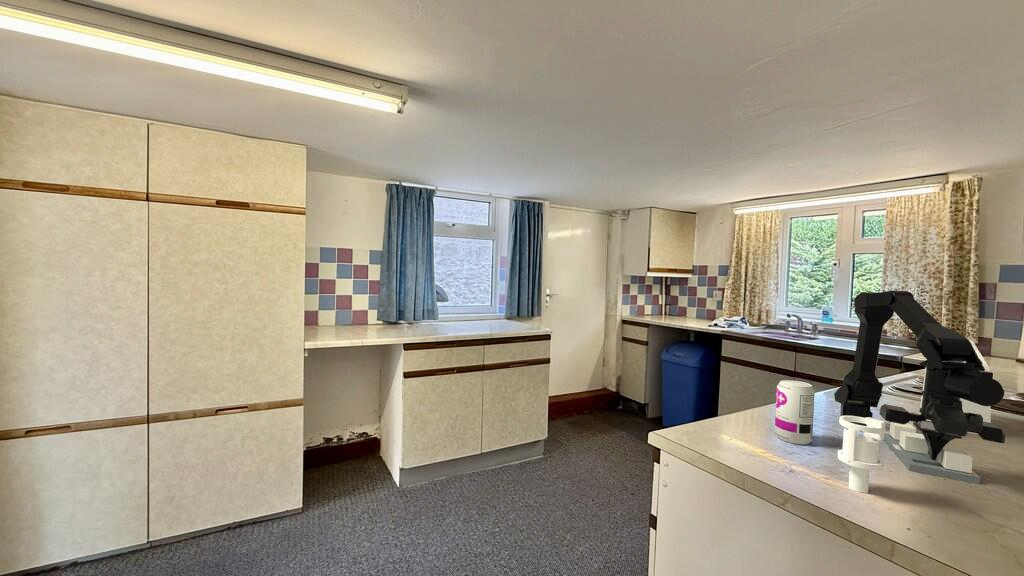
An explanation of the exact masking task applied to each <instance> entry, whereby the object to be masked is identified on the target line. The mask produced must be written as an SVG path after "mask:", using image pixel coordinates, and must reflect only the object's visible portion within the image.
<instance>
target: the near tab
mask: <svg viewBox="0 0 1024 576" xmlns="http://www.w3.org/2000/svg"><path fill="white" fill-rule="evenodd" d="M938 462H939V463H940V464H941V465H942V466H943V467H944V468H946V469H951V470H957V471H962V472H968V473H972V471H973V469H972V468H973V455H970V454H969V453H968V452H966V451H965V450H964V449H958V448H952V447H946V446H944V448H943V449H942V450H941V452H940V453H939V454H938Z"/></svg>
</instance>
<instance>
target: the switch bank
mask: <svg viewBox="0 0 1024 576" xmlns="http://www.w3.org/2000/svg"><path fill="white" fill-rule="evenodd" d="M882 441H883V442H884V444H885V445H888V446H887V447H888V449H890V451H891V452H892V453H893V452H894V453H893V454H894V455H895V456H896V457H897V458H898V460H899V461H900V462H901V463H902V465H904V467H905V468H906V469H907V470H908V471H910V472H915V473H920V474H924V475H925V474H926V475H930V476H936V477H940V478H945V479H946V478H947V479H951V480H955V481H961V482H967V483H971V484H972V483H973V484H976V485H980V483H981V482H980V481H981V480H980V479H981V476H979V475H978V474H977V473H976V472H975V471H973V470H972V473H968V472H962V471H957V470H951V469H946V468H944V467H943V466H942V465H941V464H940V463H939V462H938V456H937V458H936V460H932V459H931V458H930V451H929V449H928V454H923V453H917V452H912V451H906V450H904V449H903V448H902V447H901V446H900V445H899V444H900V440H896V439H894V438H893V437H892V436H891V435H890V433H886V432H885V433H884V440H882Z"/></svg>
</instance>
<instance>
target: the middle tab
mask: <svg viewBox="0 0 1024 576" xmlns="http://www.w3.org/2000/svg"><path fill="white" fill-rule="evenodd" d="M899 445H900V446H901V447H902V448H903V449H904V450H906V451H912V452H917V453H923V454H928V446H927V443H926V440H925V438H924V436H923V434H922V433H917V432H916V433H911V432H905V431H900V444H899Z"/></svg>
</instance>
